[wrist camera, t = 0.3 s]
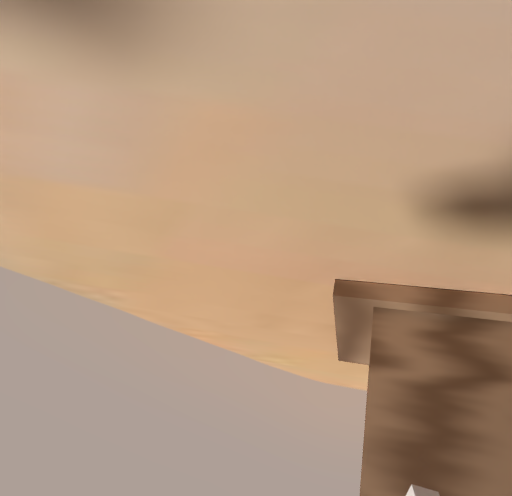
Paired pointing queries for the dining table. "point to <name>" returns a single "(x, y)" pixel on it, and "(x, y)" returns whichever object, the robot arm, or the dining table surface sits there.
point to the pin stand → (431, 386)
